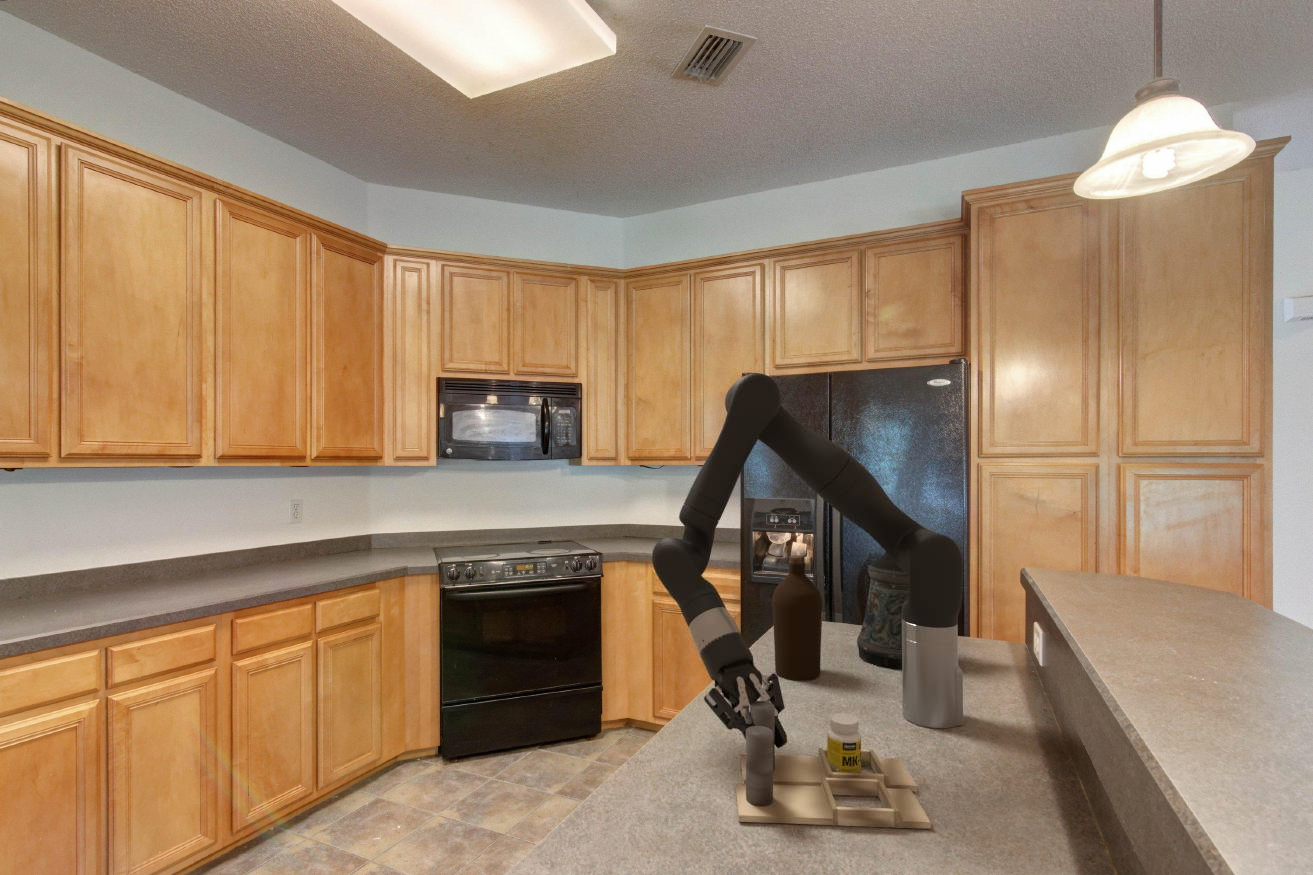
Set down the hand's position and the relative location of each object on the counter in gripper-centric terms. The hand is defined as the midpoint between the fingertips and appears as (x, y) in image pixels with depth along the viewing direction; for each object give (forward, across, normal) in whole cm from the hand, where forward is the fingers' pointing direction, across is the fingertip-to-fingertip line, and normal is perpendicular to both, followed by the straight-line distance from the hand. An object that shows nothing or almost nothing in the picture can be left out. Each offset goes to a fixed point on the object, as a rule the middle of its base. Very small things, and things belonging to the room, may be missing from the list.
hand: (771, 748), depth 94 cm
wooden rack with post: (+6, +7, +1) cm, 9 cm away
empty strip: (+10, +1, -4) cm, 11 cm away
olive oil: (-18, +36, +24) cm, 47 cm away
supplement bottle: (+7, +10, 0) cm, 12 cm away
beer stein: (-14, +63, +20) cm, 68 cm away
